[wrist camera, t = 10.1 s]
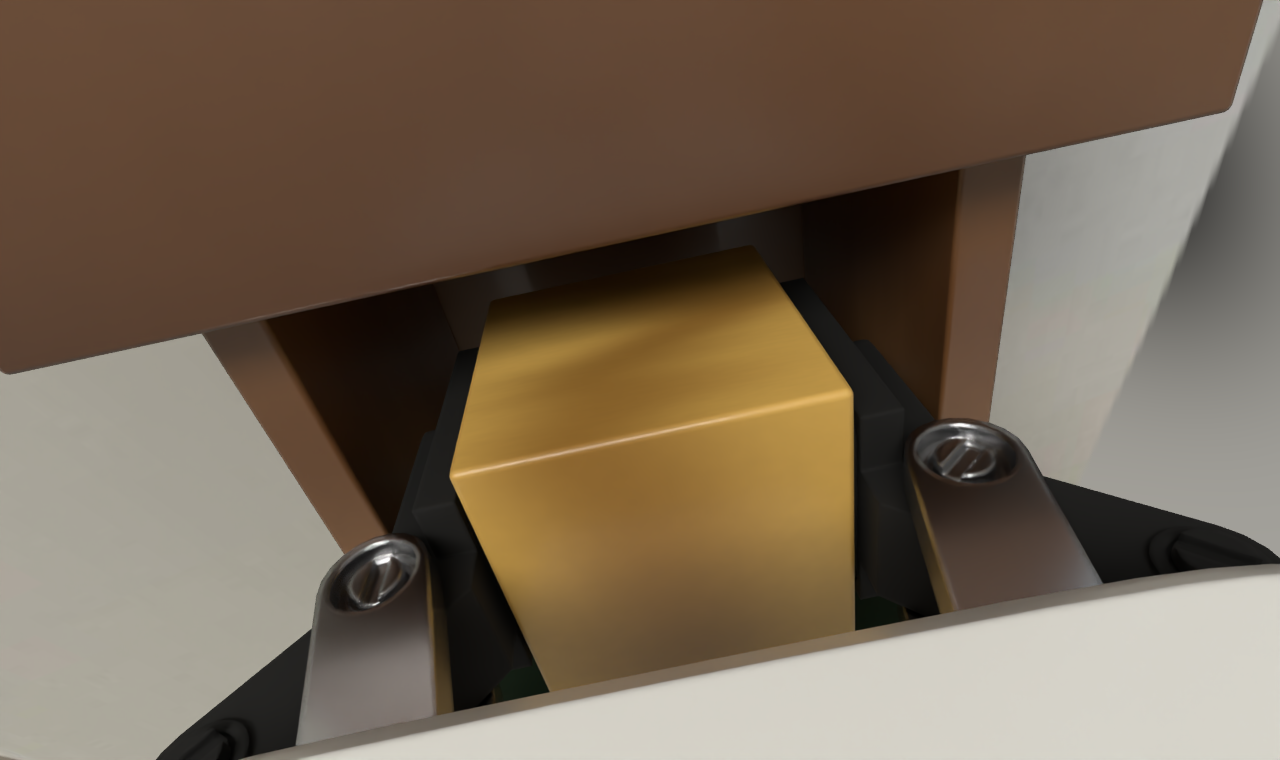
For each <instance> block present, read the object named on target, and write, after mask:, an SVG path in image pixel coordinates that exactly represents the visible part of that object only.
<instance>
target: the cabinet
mask: <svg viewBox="0 0 1280 760" xmlns="http://www.w3.org/2000/svg"><path fill="white" fill-rule="evenodd" d="M1262 2H1263V0H0V371H1V372H3V373H5V374H16V373H21V372H25V371H30V370H34V369H39V368H44V367H48V366H53V365H58V364H62V363H67V362H71V361H76V360H81V359H85V358H90V357H95V356H99V355H104V354H108V353H113V352H118V351H122V350H127V349H132V348H136V347H141V346H145V345H150V344H155V343H159V342H164V341H169V340H173V339H178V338H182V337H187V336H192V335H196V334H201V333H206V332H210V331H215V330H219V329H224V328H229V327H233V326H238V325H242V324H247V323H252V322H256V321H261V320H266V319H270V318H275V317H279V316H284V315H289V314H293V313H298V312H303V311H307V310H312V309H316V308H321V307H326V306H330V305H335V304H340V303H344V302H349V301H353V300H358V299H363V298H367V297H372V296H377V295H381V294H386V293H390V292H395V291H400V290H404V289H409V288H414V287H418V286H423V285H427V284H432V283H437V282H441V281H446V280H451V279H455V278H460V277H464V276H469V275H474V274H478V273H483V272H488V271H492V270H497V269H501V268H506V267H511V266H515V265H520V264H525V263H529V262H534V261H538V260H543V259H548V258H552V257H557V256H562V255H566V254H571V253H575V252H580V251H585V250H589V249H594V248H599V247H603V246H608V245H612V244H617V243H622V242H626V241H631V240H636V239H640V238H645V237H649V236H654V235H659V234H663V233H668V232H673V231H677V230H682V229H686V228H691V227H696V226H700V225H705V224H710V223H714V222H719V221H723V220H728V219H733V218H737V217H742V216H747V215H751V214H756V213H760V212H765V211H770V210H774V209H779V208H784V207H788V206H793V205H797V204H802V203H807V202H811V201H816V200H821V199H825V198H830V197H834V196H839V195H844V194H848V193H853V192H858V191H862V190H867V189H871V188H876V187H881V186H885V185H890V184H895V183H899V182H904V181H908V180H913V179H918V178H922V177H927V176H932V175H936V174H941V173H945V172H950V171H955V170H959V169H964V168H969V167H973V166H978V165H982V164H987V163H992V162H996V161H1001V160H1005V159H1010V158H1015V157H1019V156H1024V155H1029V154H1033V153H1038V152H1042V151H1047V150H1052V149H1056V148H1061V147H1066V146H1070V145H1075V144H1079V143H1084V142H1089V141H1093V140H1098V139H1103V138H1107V137H1112V136H1116V135H1121V134H1126V133H1130V132H1135V131H1140V130H1144V129H1149V128H1153V127H1158V126H1163V125H1167V124H1172V123H1177V122H1181V121H1186V120H1190V119H1195V118H1200V117H1204V116H1209V115H1214V114H1218V113H1222V112H1225V111H1227V110H1229V108H1230V107H1231V105H1232V103H1233V100H1234V96H1235V93H1236V90H1237V86H1238V83H1239V80H1240V76H1241V73H1242V69H1243V66H1244V63H1245V59H1246V56H1247V53H1248V49H1249V46H1250V43H1251V39H1252V36H1253V33H1254V29H1255V26H1256V23H1257V19H1258V16H1259V13H1260V9H1261V6H1262Z"/></svg>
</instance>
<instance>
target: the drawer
mask: <svg viewBox="0 0 1280 760" xmlns="http://www.w3.org/2000/svg"><path fill="white" fill-rule="evenodd" d="M1025 158H1026V155H1024V156H1019V157H1015V158H1010V159H1005V160H1001V161H996V162H992V163H987V164H982V165H978V166H973V167H969V168H964V169H959V170H955V171H950V172H945V173H941V174H936V175H932V176H927V177H922V178H918V179H913V180H908V181H904V182H899V183H895V184H890V185H885V186H881V187H876V188H871V189H867V190H862V191H858V192H853V193H848V194H844V195H839V196H834V197H830V198H825V199H821V200H816V201H811V202H807V203H802V204H797V205H793V206H788V207H784V208H779V209H774V210H770V211H765V212H760V213H756V214H751V215H747V216H742V217H737V218H733V219H728V220H723V221H719V222H714V223H710V224H705V225H700V226H696V227H691V228H686V229H682V230H677V231H673V232H668V233H663V234H659V235H654V236H649V237H645V238H640V239H636V240H631V241H626V242H622V243H617V244H612V245H608V246H603V247H599V248H594V249H589V250H585V251H580V252H575V253H571V254H566V255H562V256H557V257H552V258H548V259H543V260H538V261H534V262H529V263H525V264H520V265H515V266H511V267H506V268H501V269H497V270H492V271H488V272H483V273H478V274H474V275H469V276H464V277H460V278H455V279H451V280H446V281H441V282H437V283H432V284H427V285H423V286H418V287H414V288H409V289H404V290H400V291H395V292H390V293H386V294H381V295H377V296H372V297H367V298H363V299H358V300H353V301H349V302H344V303H340V304H335V305H330V306H326V307H321V308H316V309H312V310H307V311H303V312H298V313H293V314H289V315H284V316H279V317H275V318H270V319H266V320H261V321H256V322H252V323H247V324H242V325H238V326H233V327H229V328H224V329H219V330H215V331H210V332H206V333H202V334H203V336H204V338H205V339H206V341H207V342H208V344H209V345H210V347H211V348H212V350H213V352H214V353H215V355H216V356H217V358H218V359H219V361H220V362H221V364H222V365H223V367H224V369H225V370H226V372H227V373H228V375H229V376H230V378H231V379H232V381H233V382H234V384H235V386H236V387H237V389H238V390H239V392H240V393H241V395H242V396H243V398H244V400H245V401H246V403H247V404H248V406H249V407H250V409H251V410H252V412H253V413H254V415H255V417H256V418H257V420H258V421H259V423H260V424H261V426H262V427H263V429H264V431H265V432H266V434H267V435H268V437H269V438H270V440H271V441H272V443H273V444H274V446H275V448H276V449H277V451H278V452H279V454H280V455H281V457H282V458H283V460H284V462H285V463H286V465H287V466H288V468H289V469H290V471H291V472H292V474H293V475H294V477H295V479H296V480H297V482H298V483H299V485H300V486H301V488H302V489H303V491H304V493H305V494H306V496H307V497H308V499H309V500H310V502H311V503H312V505H313V506H314V508H315V510H316V511H317V513H318V514H319V516H320V517H321V519H322V520H323V522H324V523H325V525H326V527H327V528H328V530H329V531H330V533H331V534H332V536H333V537H334V539H335V541H336V542H337V544H338V545H339V547H340V548H341V550H342V551H343V553H344V554H346V553H347V552H349V551H350V550H352V549H353V548H355V547H356V546H358V545H359V544H361V543H364V542H366V541H368V540H370V539H372V538H374V537H378V536H382V535H386V534H390V533H392V532H393V529H394V526H395V522H396V519H397V516H398V513H399V510H400V507H401V503H402V500H403V497H404V494H405V491H406V488H407V484H408V481H409V478H410V475H411V472H412V468H413V465H414V462H415V459H416V456H417V453H418V449H419V446H420V443H421V440H422V438H423V436H424V434H425V433H426V432H428V431H432V430H436V426H437V423H438V419H439V416H440V412H441V409H442V406H443V402H444V399H445V395H446V392H447V388H448V385H449V382H450V378H451V375H452V371H453V368H454V364H455V361H456V358H457V354H458V352H459V351H462V350H467V349H472V348H476V347H480V343H481V339H482V335H483V331H484V326H485V322H486V318H487V314H488V310H489V305H490V302H491V301H493V300H495V299H500V298H505V297H509V296H514V295H519V294H523V293H528V292H533V291H537V290H542V289H547V288H551V287H556V286H560V285H565V284H570V283H574V282H579V281H584V280H588V279H593V278H598V277H602V276H607V275H612V274H616V273H621V272H626V271H630V270H635V269H639V268H644V267H649V266H653V265H658V264H663V263H667V262H672V261H677V260H681V259H686V258H691V257H695V256H700V255H705V254H709V253H714V252H718V251H723V250H728V249H732V248H737V247H742V246H746V245H753V246H754V247H755V249H756V250H757V251H758V253H759V254H760V256H761V257H762V259H763V260H764V262H765V263H766V265H767V266H768V268H769V269H770V270H771V272H772V273H773V275H774V276H775V278H776V279H777V281H778V282H779V283H781V282H785V281H790V280H795V279H799V278H803V279H805V281H806V282H807V283H808V284H809V286H810V287H811V288H812V290H813V291H814V292H815V293H816V295H817V296H818V297H819V299H820V300H821V301H822V303H823V304H824V305H825V306H826V308H827V309H828V310H829V312H830V313H831V314H832V316H833V317H834V318H835V319H836V321H837V322H838V323H839V325H840V326H841V327H842V328H843V330H844V331H845V332H846V334H847V335H848V336H849V338H850V339H851V340H852V341H853V342H854V341H858V340H863V339H865V340H869V341H870V342H871V343H872V344H873V345H874V346H875V347H876V348H877V350H878V351H879V352H880V353H881V355H882V356H883V357H884V358H885V359H886V361H887V362H888V363H889V364H890V365H891V367H892V368H893V369H894V370H895V372H896V373H897V374H898V375H899V376H900V378H901V379H902V380H903V381H904V383H905V384H906V385H907V386H908V387H909V389H910V390H911V391H912V392H913V393H914V395H915V396H916V397H917V398H918V400H919V401H920V402H921V403H922V404H923V406H924V407H925V408H926V409H927V411H928V412H929V413H930V414H931V415H932V417H933V418H934V419H935V420H939V419H946V418H970V419H975V420H980V421H985V422H989V417H990V410H991V403H992V396H993V388H994V381H995V374H996V367H997V360H998V353H999V345H1000V338H1001V331H1002V324H1003V317H1004V309H1005V302H1006V295H1007V288H1008V281H1009V273H1010V266H1011V259H1012V252H1013V245H1014V237H1015V230H1016V223H1017V216H1018V209H1019V201H1020V194H1021V187H1022V180H1023V173H1024V165H1025ZM898 622H899V618H898V613H897V604H896V603H894V602H892V601H889V600H887V599H885V598H883V597H880V596H876V597H871V598H866V599H861V600H860V598H859V596H858V594H857V591H856V589H855V631H858V630H863V629H868V628H873V627H878V626H883V625H888V624H893V623H898ZM499 684H500V687H501V690H502V694H503V700H504V702H505V701H510V700H515V699H520V698H524V697H529V696H534V695H539V694H544V693H549V692H550V691H549V689H548V687H547V685H546V683H545V680H544V678H543V676H542V674H541V672H540V670H539V668H538V665H537V663H536V661H535V659H534V657H533V660H532V666H530V667H525V668H520V669H515V670H511V671H510V672H509V673H508V674H507V675H506V676H505V677H504V679H503V680H502V681H501V682H500V683H499Z"/></svg>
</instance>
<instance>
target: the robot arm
mask: <svg viewBox="0 0 1280 760" xmlns="http://www.w3.org/2000/svg"><path fill="white" fill-rule="evenodd" d="M779 284H780V285H781V287H782V288H783V289H784V291H785V292H786V294H787V295H788V297H789V298H790V300H791V301H792V303H793V304H794V306H795V307H796V308H797V310H798V311H799V313H800V314H801V316H802V317H803V319H804V320H805V322H806V323H807V325H808V326H809V327H810V329H811V330H812V332H813V333H814V335H815V336H816V338H817V339H818V341H819V342H820V344H821V345H822V346H823V348H824V349H825V351H826V352H827V354H828V355H829V357H830V358H831V360H832V361H833V363H834V364H835V365H836V367H837V368H838V370H839V371H840V373H841V374H842V376H843V377H844V379H845V380H846V382H847V383H848V384H849V386H850V387H851V389H852V391H853V393H854V546H855V589H856V591H857V594H858V596H859V598H860V600H861V599H866V598H871V597H876V596H880V597H883V598H885V599H887V600H889V601H892V602H894V603H896V604H897V613H898V618H899V622H898V623H893V624H888V625H883V626H878V627H873V628H868V629H863V630H858V631H852V632H847V633H842V634H837V635H832V636H827V637H822V638H817V639H812V640H806V641H801V642H796V643H791V644H786V645H781V646H776V647H771V648H766V649H761V650H757V651H752V652H747V653H742V654H737V655H732V656H727V657H722V658H717V659H712V660H707V661H702V662H697V663H692V664H687V665H682V666H677V667H672V668H667V669H662V670H657V671H652V672H647V673H642V674H637V675H632V676H627V677H622V678H617V679H612V680H607V681H602V682H598V683H593V684H588V685H583V686H578V687H573V688H568V689H563V690H558V691H553V692H549V693H544V694H539V695H534V696H529V697H524V698H520V699H515V700H510V701H505V702H504V700H503V694H502V690H501V687H500V684H499V683H500V682H501V681H502V680H503V679H504V677H505V676H506V675H507V674H508V673H509V672H510V671H511V670H515V669H520V668H525V667H530V666H532V660H533V655H532V653H531V651H530V648H529V646H528V644H527V642H526V640H525V638H524V636H523V633H522V631H521V629H520V627H519V625H518V623H517V621H516V619H515V616H514V614H513V612H512V610H511V608H510V606H509V604H508V601H507V599H506V597H505V595H504V593H503V591H502V589H501V587H500V584H499V582H498V580H497V578H496V576H495V574H494V572H493V569H492V567H491V565H490V563H489V561H488V559H487V557H486V554H485V552H484V550H483V548H482V546H481V544H480V542H479V540H478V537H477V535H476V533H475V531H474V529H473V527H472V525H471V522H470V520H469V518H468V516H467V514H466V512H465V510H464V508H463V505H462V503H461V501H460V499H459V497H458V495H457V493H456V490H455V488H454V486H453V484H452V482H451V480H450V477H449V476H450V469H451V465H452V461H453V456H454V452H455V448H456V444H457V440H458V435H459V431H460V427H461V423H462V419H463V415H464V410H465V406H466V402H467V398H468V394H469V389H470V385H471V381H472V377H473V373H474V368H475V364H476V360H477V356H478V352H479V347H476V348H472V349H467V350H462V351H459V352H458V354H457V358H456V361H455V364H454V368H453V371H452V375H451V378H450V382H449V385H448V388H447V392H446V395H445V399H444V402H443V406H442V409H441V412H440V416H439V419H438V423H437V426H436V430H432V431H428V432H426V433H425V434H424V436H423V438H422V440H421V443H420V446H419V449H418V453H417V456H416V459H415V462H414V465H413V468H412V472H411V475H410V478H409V481H408V484H407V488H406V491H405V494H404V497H403V500H402V503H401V507H400V510H399V513H398V516H397V519H396V522H395V526H394V529H393V532H392V533H390V534H386V535H382V536H378V537H374V538H372V539H370V540H368V541H366V542H364V543H361V544H359V545H358V546H356V547H355V548H353V549H352V550H350V551H349V552H347V553H346V554H345V555H343V556H342V557H341V558H340V559H339V560H338V561H337V562H336V563H335V564H334V565H333V566H332V567H331V568H330V569H329V571H328V572H327V574H326V575H325V577H324V578H323V580H322V581H321V584H320V587H319V590H318V593H317V596H316V603H315V611H314V618H313V625H312V629H311V630H309V631H308V632H307V633H306V634H304V635H303V636H302V637H301V638H300V639H298V640H297V641H296V642H295V643H293V644H292V645H291V646H290V647H288V648H287V649H286V650H285V651H284V652H282V653H281V654H280V655H279V656H277V657H276V658H275V659H274V660H272V661H271V662H270V663H269V664H268V665H266V666H265V667H264V668H263V669H261V670H260V671H259V672H258V673H256V674H255V675H254V676H253V677H251V678H250V679H249V680H248V681H247V682H245V683H244V684H243V685H242V686H240V687H239V688H238V689H237V690H235V691H234V692H233V693H232V694H231V695H229V696H228V697H227V698H226V699H224V700H223V701H222V702H221V703H219V704H218V705H217V706H216V707H214V708H213V709H212V710H211V711H210V712H208V713H207V714H206V715H205V716H203V717H202V718H201V719H200V720H198V721H197V722H196V723H195V724H194V725H192V726H191V727H190V728H189V729H187V730H186V731H185V732H184V733H182V734H181V735H180V736H179V737H178V738H177V739H176V740H175V741H174V742H173V743H171V744H170V745H169V746H168V747H167V748H166V749H165V750H164V751H163V752H162V753H161V754H160V755H159V757H158V758H157V759H156V760H1280V558H1279V557H1278V556H1276V555H1275V554H1274V553H1273V552H1272V551H1270V550H1269V549H1268V548H1266V547H1265V546H1263V545H1261V544H1259V543H1257V542H1256V541H1254V540H1252V539H1250V538H1248V537H1247V536H1245V535H1242V534H1240V533H1237V532H1234V531H1232V530H1229V529H1226V528H1223V527H1221V526H1217V525H1214V524H1211V523H1207V522H1204V521H1200V520H1197V519H1193V518H1189V517H1186V516H1182V515H1179V514H1175V513H1172V512H1168V511H1165V510H1161V509H1158V508H1154V507H1151V506H1147V505H1143V504H1140V503H1136V502H1133V501H1129V500H1126V499H1122V498H1119V497H1115V496H1112V495H1108V494H1105V493H1101V492H1098V491H1094V490H1090V489H1087V488H1083V487H1080V486H1076V485H1073V484H1069V483H1066V482H1062V481H1059V480H1055V479H1052V478H1048V477H1044V476H1043V475H1042V474H1041V472H1040V470H1039V468H1038V467H1037V465H1036V463H1035V461H1034V459H1033V458H1032V456H1031V454H1030V452H1029V450H1028V449H1027V448H1026V446H1025V445H1024V444H1023V443H1022V442H1021V440H1020V439H1019V438H1018V437H1016V436H1015V435H1013V434H1012V433H1010V432H1009V431H1007V430H1006V429H1004V428H1001V427H999V426H996V425H994V424H991V423H989V422H985V421H980V420H975V419H970V418H946V419H939V420H935V419H934V418H933V417H932V415H931V414H930V413H929V412H928V411H927V409H926V408H925V407H924V406H923V404H922V403H921V402H920V401H919V400H918V398H917V397H916V396H915V395H914V393H913V392H912V391H911V390H910V389H909V387H908V386H907V385H906V384H905V383H904V381H903V380H902V379H901V378H900V376H899V375H898V374H897V373H896V372H895V370H894V369H893V368H892V367H891V365H890V364H889V363H888V362H887V361H886V359H885V358H884V357H883V356H882V355H881V353H880V352H879V351H878V350H877V348H876V347H875V346H874V345H873V344H872V343H871V342H870V341H869V340H865V339H863V340H858V341H854V342H853V341H852V340H851V339H850V338H849V336H848V335H847V334H846V332H845V331H844V330H843V328H842V327H841V326H840V325H839V323H838V322H837V321H836V319H835V318H834V317H833V316H832V314H831V313H830V312H829V310H828V309H827V308H826V306H825V305H824V304H823V303H822V301H821V300H820V299H819V297H818V296H817V295H816V293H815V292H814V291H813V290H812V288H811V287H810V286H809V284H808V283H807V282H806V281H805V279H803V278H799V279H795V280H790V281H785V282H781V283H779Z"/></svg>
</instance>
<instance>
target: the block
mask: <svg viewBox="0 0 1280 760" xmlns="http://www.w3.org/2000/svg"><path fill="white" fill-rule="evenodd" d="M449 477H450V480H451V482H452V484H453V486H454V488H455V490H456V493H457V495H458V497H459V499H460V501H461V503H462V505H463V508H464V510H465V512H466V514H467V516H468V518H469V520H470V522H471V525H472V527H473V529H474V531H475V533H476V535H477V537H478V540H479V542H480V544H481V546H482V548H483V550H484V552H485V554H486V557H487V559H488V561H489V563H490V565H491V567H492V569H493V572H494V574H495V576H496V578H497V580H498V582H499V584H500V587H501V589H502V591H503V593H504V595H505V597H506V599H507V601H508V604H509V606H510V608H511V610H512V612H513V614H514V616H515V619H516V621H517V623H518V625H519V627H520V629H521V631H522V633H523V636H524V638H525V640H526V642H527V644H528V646H529V648H530V651H531V653H532V655H533V657H534V659H535V661H536V663H537V665H538V668H539V670H540V672H541V674H542V676H543V678H544V680H545V683H546V685H547V687H548V689H549V691H550V692H553V691H558V690H563V689H568V688H573V687H578V686H583V685H588V684H593V683H598V682H602V681H607V680H612V679H617V678H622V677H627V676H632V675H637V674H642V673H647V672H652V671H657V670H662V669H667V668H672V667H677V666H682V665H687V664H692V663H697V662H702V661H707V660H712V659H717V658H722V657H727V656H732V655H737V654H742V653H747V652H752V651H757V650H761V649H766V648H771V647H776V646H781V645H786V644H791V643H796V642H801V641H806V640H812V639H817V638H822V637H827V636H832V635H837V634H842V633H847V632H852V631H855V546H854V393H853V391H852V389H851V387H850V386H849V384H848V383H847V382H846V380H845V379H844V377H843V376H842V374H841V373H840V371H839V370H838V368H837V367H836V365H835V364H834V363H833V361H832V360H831V358H830V357H829V355H828V354H827V352H826V351H825V349H824V348H823V346H822V345H821V344H820V342H819V341H818V339H817V338H816V336H815V335H814V333H813V332H812V330H811V329H810V327H809V326H808V325H807V323H806V322H805V320H804V319H803V317H802V316H801V314H800V313H799V311H798V310H797V308H796V307H795V306H794V304H793V303H792V301H791V300H790V298H789V297H788V295H787V294H786V292H785V291H784V289H783V288H782V287H781V285H780V284H779V282H778V281H777V279H776V278H775V276H774V275H773V273H772V272H771V270H770V269H769V268H768V266H767V265H766V263H765V262H764V260H763V259H762V257H761V256H760V254H759V253H758V251H757V250H756V249H755V247H754V246H753V245H746V246H742V247H737V248H732V249H728V250H723V251H718V252H714V253H709V254H705V255H700V256H695V257H691V258H686V259H681V260H677V261H672V262H667V263H663V264H658V265H653V266H649V267H644V268H639V269H635V270H630V271H626V272H621V273H616V274H612V275H607V276H602V277H598V278H593V279H588V280H584V281H579V282H574V283H570V284H565V285H560V286H556V287H551V288H547V289H542V290H537V291H533V292H528V293H523V294H519V295H514V296H509V297H505V298H500V299H495V300H493V301H491V302H490V305H489V310H488V314H487V318H486V322H485V326H484V331H483V335H482V339H481V343H480V347H479V352H478V356H477V360H476V364H475V368H474V373H473V377H472V381H471V385H470V389H469V394H468V398H467V402H466V406H465V410H464V415H463V419H462V423H461V427H460V431H459V435H458V440H457V444H456V448H455V452H454V456H453V461H452V465H451V469H450V476H449Z"/></svg>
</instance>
